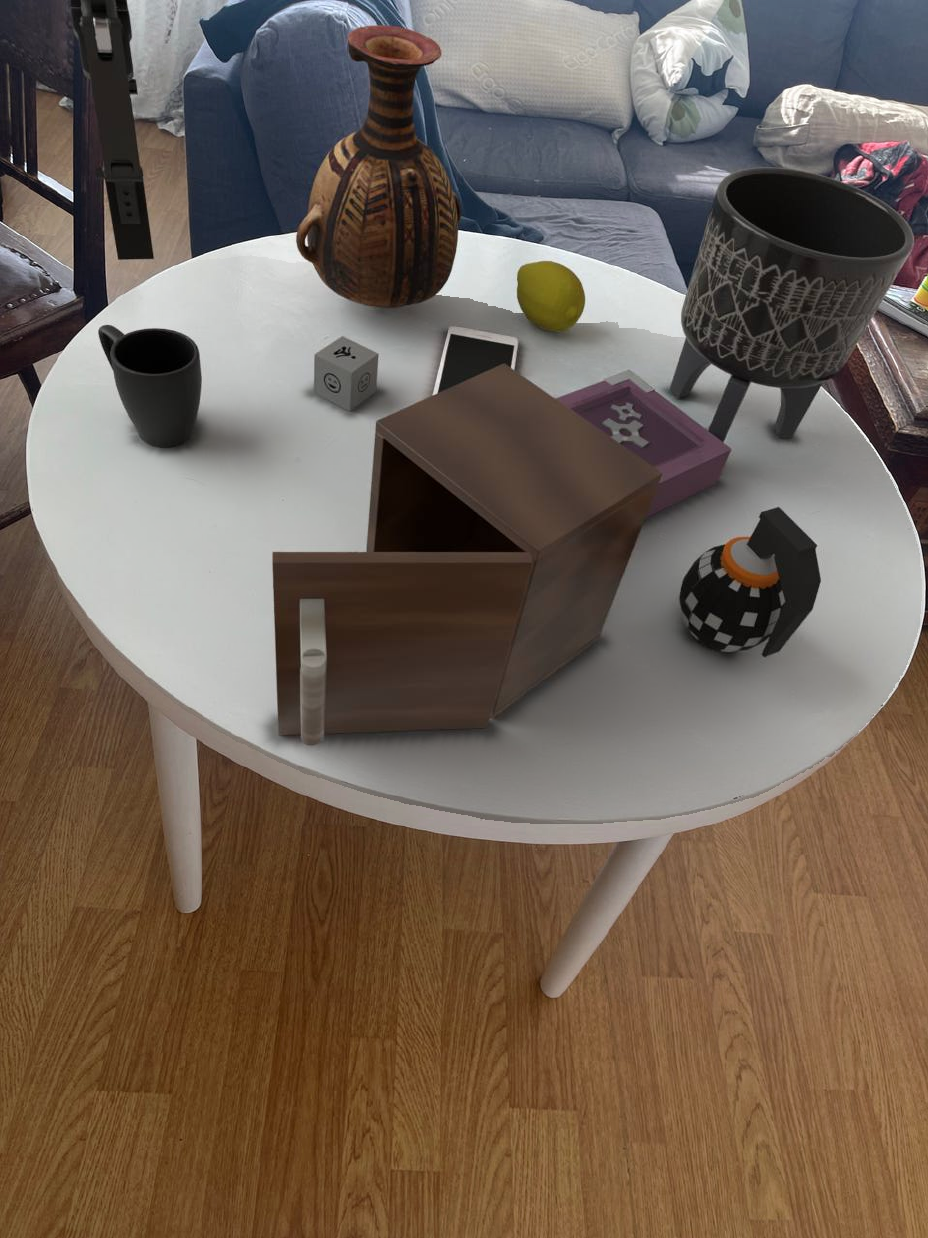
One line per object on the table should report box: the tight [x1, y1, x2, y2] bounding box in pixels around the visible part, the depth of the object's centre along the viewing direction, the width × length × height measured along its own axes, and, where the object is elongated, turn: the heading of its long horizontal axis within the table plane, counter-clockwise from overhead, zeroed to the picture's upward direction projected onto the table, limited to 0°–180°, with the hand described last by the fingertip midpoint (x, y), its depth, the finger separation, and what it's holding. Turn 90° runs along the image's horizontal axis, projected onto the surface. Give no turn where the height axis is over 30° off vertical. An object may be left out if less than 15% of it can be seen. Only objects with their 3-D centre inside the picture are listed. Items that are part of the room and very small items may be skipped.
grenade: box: [678, 506, 822, 658], centre depth 80 cm, size 11×10×15 cm
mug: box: [97, 324, 203, 448], centre depth 91 cm, size 8×12×10 cm
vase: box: [295, 24, 462, 309], centre depth 104 cm, size 21×18×30 cm
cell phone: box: [432, 325, 519, 396], centre depth 107 cm, size 9×18×1 cm, turn 173°
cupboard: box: [365, 364, 663, 719], centre depth 75 cm, size 14×17×20 cm
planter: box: [668, 166, 915, 443], centre depth 98 cm, size 20×20×26 cm
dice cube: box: [313, 335, 380, 412], centre depth 101 cm, size 5×5×5 cm
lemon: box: [516, 260, 586, 333], centre depth 115 cm, size 11×8×8 cm
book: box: [555, 369, 733, 519], centre depth 97 cm, size 25×16×5 cm, turn 128°
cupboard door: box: [271, 551, 533, 746], centre depth 64 cm, size 7×17×20 cm, turn 98°
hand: (130, 215), depth 76 cm, fingers open, 13 cm apart
